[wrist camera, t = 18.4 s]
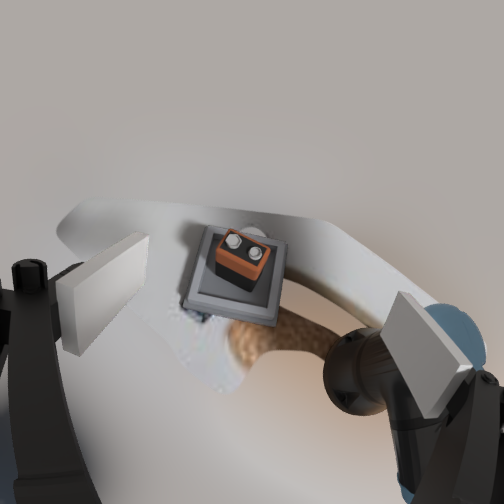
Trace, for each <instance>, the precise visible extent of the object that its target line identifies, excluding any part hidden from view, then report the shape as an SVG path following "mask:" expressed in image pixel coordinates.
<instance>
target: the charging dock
mask: <svg viewBox="0 0 504 504" xmlns="http://www.w3.org/2000/svg"><path fill="white" fill-rule="evenodd" d="M227 231H228V229H224V228H219V227H214V226H210V225H208V227H205V229H204V233H203V236H202V239H201V243H200V246H199V250H198V253H197V256H196V260H195V263H194V267H193V270H192V274H191V278H190V281H189V285H188V288H187V292H186V296H185V299H184V303H183V308H186V309H190V310H194V311H198V312H203V313H207V314H212V315H216V316H221V317H225V318H230V319H234V320H239V321H244V322H249V323H254V324H259V325H264V326H269V327H276V323H277V316H278V310H279V304H280V297H281V290H282V283H283V277H284V270H285V263H286V255H287V248H288V244H285V242H284V241H280V240H275V239H271V238H266V237H261V236H257V235H252V234H247V233H243V232H239V233H241V234H244V235H246V236H248V237H250V238H252V239H254V240H256V241H258V242H260V243H262V244H264V245H266V246H268V247H269V248H270V254H269V256H268V259H267V261H266V264H265V267H264V269H263V272H262V274H261V276H260V278H259V280H258V282H257V284H256V285H255V287H254V289H253V291H252V292H247V291H245V290H243V289H241V288H239V287H238V286H236V285H234V284H232V283H230V282H228V281H226V280H224V279H222V278H220V277H218V276H217V275H216V274H215V256H216V248H217V246H218V245H219V243H220V241H221V240H222V238H223V237H224V235H225V234H226V232H227ZM237 232H238V231H237Z"/></svg>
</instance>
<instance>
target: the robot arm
mask: <svg viewBox="0 0 504 504" xmlns="http://www.w3.org/2000/svg"><path fill="white" fill-rule="evenodd" d="M148 242H149V235H148V234H144V233H139V232H134V233H133V234H131V235H129V236H127V237H126V238H124V239H122V240H121V241H119V242H117V243H116V244H114V245H112V246H111V247H109V248H107V249H106V250H104V251H102V252H101V253H99V254H98V255H96V256H94V257H93V258H91V259H90V260H88V261H86V262H81V263H77V264H73V265H71V266H70V267H68V268H67V269H66V270H63V271H62V272H60V273H59V274H57V275H55V276H54V277H52V278H51V279H49V280H48V277H47V265H46V263H45V262H43V261H41V260H38V259H24V260H21V261H18V262H16V263H14V264H13V266H12V276H13V285H14V291H13V290H7V289H2V286H1V279H0V377H1V373H2V370H3V367H4V364H5V361H6V358H7V355H8V396H9V412H10V423H11V432H12V440H13V447H14V453H15V459H16V464H17V469H18V479H16V480H14V484H13V489H14V494H15V499H16V503H17V504H102V503H101V500H100V498H99V496H98V494H97V491H96V489H95V487H94V484H93V482H92V479H91V477H90V474H89V472H88V469H87V466H86V464H85V461H84V458H83V455H82V452H81V450H80V447H79V444H78V440H77V437H76V434H75V431H74V427H73V424H72V420H71V417H70V413H69V409H68V405H67V401H66V397H65V393H64V388H63V384H62V379H61V373H60V368H59V363H58V356H57V350H56V345H55V342H56V341H57V340H58V339H59V338H60V337H61V339H62V345H63V350H65V351H68V352H70V353H72V354H74V355H77V356H79V357H80V356H81V355H82V354H83V353H84V351H85V350H86V349H87V348H88V347H89V345H90V344H91V343H92V342H93V341H94V340H95V339H96V338H97V336H98V335H99V334H100V333H101V332H102V331H103V330H104V328H105V327H106V326H107V325H108V324H109V323H110V322H111V320H112V319H113V318H114V317H115V316H116V315H117V314H118V313H119V311H121V309H122V308H123V307H124V306H125V305H126V304H127V303H128V302H129V301H130V300H131V299H132V298H133V296H134V295H135V294H136V293H137V292H138V291H139V290H140V289H141V288H142V287H143V286H144V285H145V273H146V262H147V252H148ZM485 362H486V352H485V346H484V342H483V339H482V336H481V334H480V331H479V329H478V327H477V326H476V324H475V323H474V321H473V320H472V319H471V318H470V317H469V316H468V315H467V314H466V313H465V312H461V311H460V310H459V309H458V308H457V307H455V306H452V305H449V304H433V305H429V306H427V307H425V308H423V307H422V306H421V305H420V304H419V303H418V302H417V301H416V299H415V298H414V297H413V296H412V295H411V294H410V293H406V292H401V291H398V294H397V296H396V299H395V301H394V303H393V306H392V308H391V311H390V313H389V315H388V318H387V320H386V322H385V324H384V327H383V328H382V329H377V328H360V329H356V330H354V331H352V332H350V333H348V334H346V335H344V336H342V337H341V338H340V339H338V340H337V341H336V342H335V343H334V345H333V346H332V347H331V349H330V350H329V352H328V354H327V357H326V359H325V363H324V368H323V381H324V386H325V389H326V392H327V394H328V396H329V398H330V400H331V401H332V402H333V403H334V404H335V405H336V406H337V407H338V408H339V409H341V410H342V411H344V412H346V413H348V414H352V415H358V416H370V415H374V414H378V413H380V412H382V411H384V410H386V409H387V411H388V416H389V421H390V427H391V433H392V438H393V443H394V449H395V455H396V461H397V468H398V472H397V480H398V483H399V485H400V487H401V493H402V496H403V499H404V500H405V502H406V503H407V504H504V387H501V386H499V382H498V380H497V379H496V378H495V377H494V375H493V374H491V373H489V372H487V371H484V369H483V367H482V366H483V365H484V364H485Z"/></svg>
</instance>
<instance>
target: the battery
mask: <svg viewBox="0 0 504 504" xmlns="http://www.w3.org/2000/svg"><path fill="white" fill-rule="evenodd" d="M269 254H270V248H269V247H268V246H266V245H264V244H262V243H260V242H258V241H256V240H254V239H252V238H250V237H248V236H246V235H244V234H241V233H239V232H237V231H235V230H233V229H228V231H227V232H226V234H225V235H224V237H223V238H222V240H221V241H220V243H219V245H218V246H217V248H216V256H215V274H216V275H217V276H218V277H220V278H222V279H224V280H226V281H228V282H230V283H232V284H234V285H236V286H238V287H239V288H241V289H243V290H245V291H247V292H252V291H253V289H254V287H255V285H256V284H257V282H258V280H259V278H260V276H261V274H262V272H263V269H264V267H265V264H266V261H267V259H268V256H269Z"/></svg>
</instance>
